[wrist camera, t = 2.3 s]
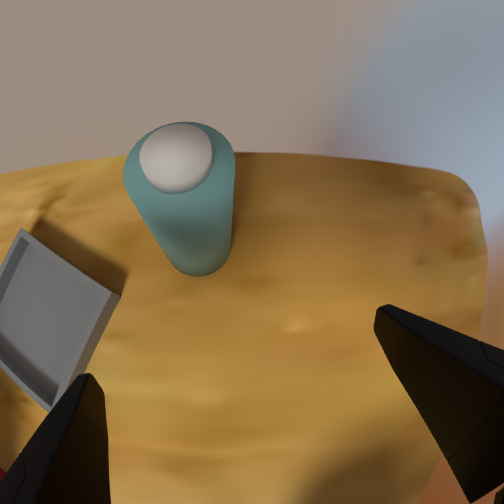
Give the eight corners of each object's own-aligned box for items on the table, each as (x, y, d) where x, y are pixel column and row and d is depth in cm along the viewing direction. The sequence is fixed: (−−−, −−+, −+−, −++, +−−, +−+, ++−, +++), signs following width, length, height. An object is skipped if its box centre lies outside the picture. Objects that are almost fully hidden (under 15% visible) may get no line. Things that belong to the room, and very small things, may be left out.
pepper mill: (211, 288, 22) (196, 227, 11) (154, 258, 22) (94, 177, 11) (242, 231, 23) (256, 130, 12) (186, 205, 24) (161, 96, 12)
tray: (67, 413, 18) (55, 417, 16) (-14, 337, 18) (-27, 335, 16) (121, 296, 21) (111, 292, 19) (32, 235, 22) (20, 227, 20)
